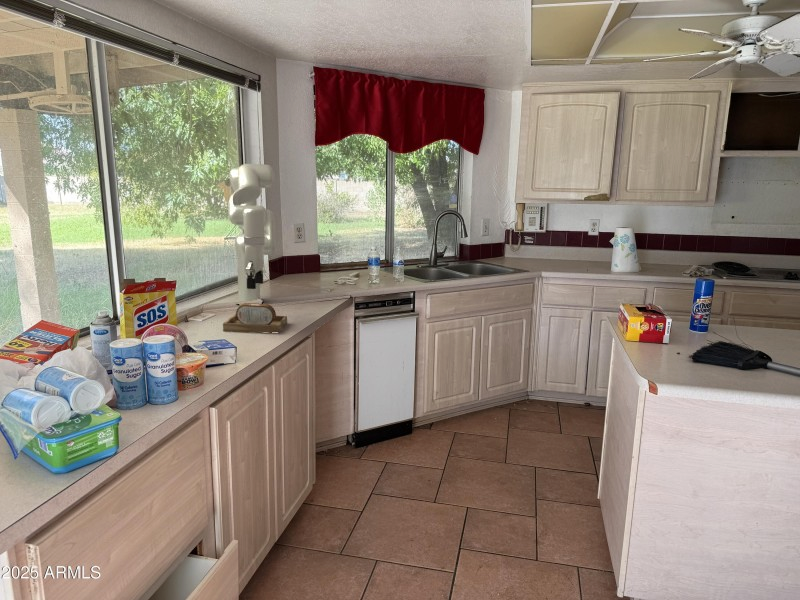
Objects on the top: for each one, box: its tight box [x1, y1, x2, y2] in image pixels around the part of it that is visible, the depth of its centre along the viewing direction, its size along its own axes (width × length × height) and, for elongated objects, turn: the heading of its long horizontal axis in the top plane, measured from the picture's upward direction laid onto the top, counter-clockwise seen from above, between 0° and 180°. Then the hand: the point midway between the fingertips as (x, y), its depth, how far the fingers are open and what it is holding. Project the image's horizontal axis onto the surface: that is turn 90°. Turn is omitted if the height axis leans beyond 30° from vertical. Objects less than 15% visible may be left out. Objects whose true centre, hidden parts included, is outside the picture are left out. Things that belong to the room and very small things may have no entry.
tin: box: [235, 303, 277, 325], centre depth 207 cm, size 15×3×8 cm, turn 88°
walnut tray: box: [222, 313, 288, 334], centre depth 208 cm, size 15×21×3 cm
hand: (255, 285), depth 205 cm, fingers open, 9 cm apart
